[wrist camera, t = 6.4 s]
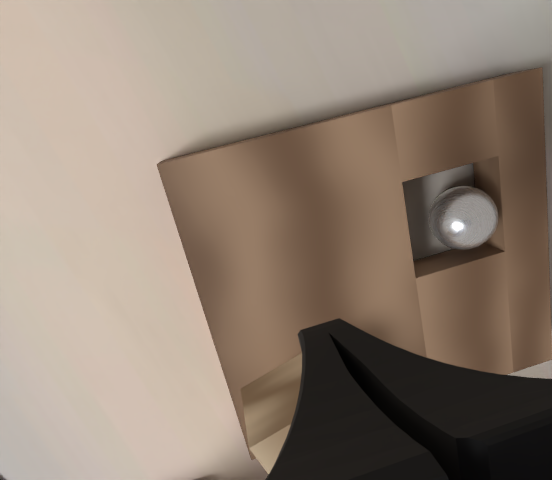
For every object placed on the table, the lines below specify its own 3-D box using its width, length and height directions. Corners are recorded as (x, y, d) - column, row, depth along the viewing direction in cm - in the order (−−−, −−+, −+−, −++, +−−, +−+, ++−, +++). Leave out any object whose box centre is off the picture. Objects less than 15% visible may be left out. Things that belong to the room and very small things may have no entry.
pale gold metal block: (277, 442, 22) (293, 509, 18) (240, 388, 20) (249, 448, 17) (342, 404, 22) (372, 462, 18) (309, 348, 20) (333, 398, 17)
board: (247, 433, 24) (251, 460, 22) (161, 161, 19) (156, 164, 17) (526, 341, 25) (552, 359, 23) (510, 72, 21) (542, 67, 19)
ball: (437, 230, 23) (417, 252, 21) (441, 175, 22) (421, 193, 20) (499, 240, 21) (485, 266, 19) (509, 181, 20) (494, 201, 18)
